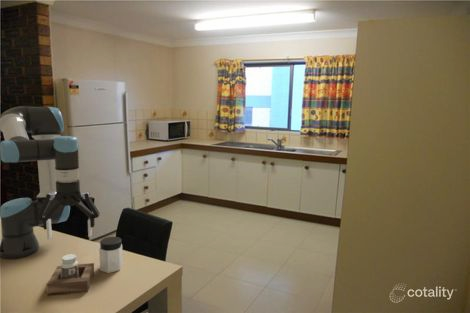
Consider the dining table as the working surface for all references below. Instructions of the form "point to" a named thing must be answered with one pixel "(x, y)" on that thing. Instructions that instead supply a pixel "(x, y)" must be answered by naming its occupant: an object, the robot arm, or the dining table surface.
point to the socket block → (71, 281)
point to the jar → (110, 254)
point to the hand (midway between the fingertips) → (70, 236)
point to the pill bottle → (69, 267)
